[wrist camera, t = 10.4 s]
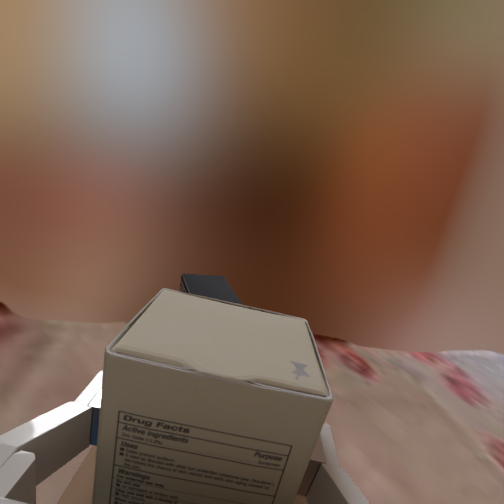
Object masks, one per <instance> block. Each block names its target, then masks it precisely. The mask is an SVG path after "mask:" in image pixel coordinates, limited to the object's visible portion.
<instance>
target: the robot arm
mask: <svg viewBox="0 0 504 504" xmlns="http://www.w3.org/2000/svg"><path fill="white" fill-rule="evenodd" d="M102 379H103V370H101V371H100V372H99V373H98V374H97V375H96V376H95V377H94V378H93V380H92V381H91V382H90V383H89V384H88V386H87V387H86V388H85V389H84V390H83V392H82V393H81V394H80V395H79V396H78V397H77V399H76V400H75V401H74V402H70V401H69V402H67V403H65V404H63V405H61V406H59V407H57V408H55V409H53V410H51V411H49V412H47V413H45V414H43V415H41V416H39V417H37V418H35V419H33V420H31V421H29V422H27V423H25V424H23V425H21V426H19V427H17V428H15V429H13V430H10V431H8V432H6V433H4V434H2V435H0V504H36V486H37V485H38V484H39V483H41V482H42V481H43V480H45V479H46V478H47V477H49V476H50V475H51V474H53V473H54V472H55V471H57V470H58V469H59V468H61V467H62V466H63V465H65V464H66V463H67V462H69V461H70V460H71V459H73V458H74V457H75V456H77V455H78V454H79V453H81V452H82V451H83V450H85V449H86V448H87V447H89V444H90V445H95V446H97V438H98V427H99V415H100V403H101V391H102ZM297 495H300V496H304V497H306V498H305V499H306V501H307V503H308V504H370V503H369V502H368V501H367V499H366V498H365V497H364V495H363V494H362V493H361V491H360V490H359V489H358V487H357V486H356V484H355V483H354V482H353V480H352V479H351V478H350V476H349V475H348V474H347V472H346V471H345V470H344V468H340V465H339V461H338V457H337V453H336V449H335V444H334V440H333V436H332V432H331V427H330V426H329V424H323V427H322V429H321V432H320V435H319V437H318V440H317V443H316V445H315V448H314V451H313V453H312V456H311V458H310V461H309V463H308V466H307V469H306V471H305V474H304V477H303V479H302V482H301V485H300V487H299V489H298V492H297Z"/></svg>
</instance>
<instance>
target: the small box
mask: <svg viewBox="0 0 504 504" xmlns="http://www.w3.org/2000/svg"><path fill="white" fill-rule="evenodd" d="M180 292H184V293H189V294H194V295H200V296H204V297H208V298H214V299H218V300H223V301H228V302H231V303H237V304H241V305H242V303H241V302H240V300H239V299H238V297H237V296H236V294H235V293H234V292H233V290H232V289H231V287H230V286H229V284H228V283H227V281H226V280H225V278H224V277H223V276H212V275H196V274H182V276H181V285H180Z"/></svg>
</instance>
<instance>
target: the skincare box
mask: <svg viewBox="0 0 504 504" xmlns="http://www.w3.org/2000/svg"><path fill="white" fill-rule="evenodd" d="M332 401H333V396H332V393H331V390H330V387H329V385H328V381H327V377H326V374H325V371H324V368H323V364H322V361H321V358H320V355H319V352H318V349H317V346H316V343H315V340H314V337H313V335H312V332H311V330H310V327H309V325H308V322H307V320H305V319H303V318H298V317H294V316H289V315H285V314H281V313H277V312H272V311H268V310H264V309H259V308H255V307H251V306H245V305H241V304H237V303H231V302H228V301H223V300H218V299H214V298H208V297H204V296H200V295H194V294H189V293H184V292H180V291H176V290H171V289H167V288H163V289H162V290H160V292H159V293H158V294H157V295H156V296H155V297H154V298H153V299H151V300H150V302H149V303H148V304H147V305H146V306H145V307H143V308H142V309H141V311H139V313H138V314H137V315H136V316H135V317H134V318H133V319H132V320H131V321H130V322H129V323H128V324H127V325H126V326H125V327H124V328H123V329H122V330H121V331H120V332H119V334H118V335H117V336H116V337H115V338H114V339H113V340H112V341H111V342H110V343H109V344H108V345H107V347H106V348H105V355H104V367H103V379H102V391H101V403H100V415H99V427H98V438H97V450H96V463H95V475H94V486H93V497H92V504H293V503H294V500H295V497H296V495H297V492H298V489H299V487H300V485H301V482H302V479H303V477H304V474H305V471H306V469H307V466H308V463H309V461H310V458H311V456H312V453H313V451H314V448H315V445H316V443H317V440H318V437H319V435H320V432H321V429H322V427H323V424H324V422H325V419H326V416H327V414H328V412H329V409H330V406H331V404H332Z"/></svg>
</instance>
